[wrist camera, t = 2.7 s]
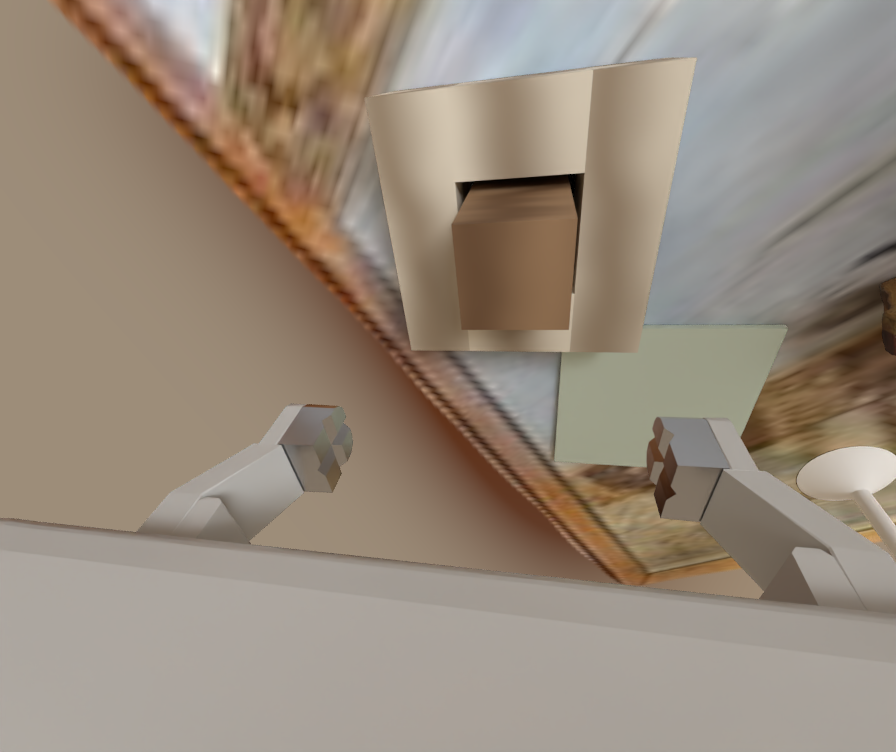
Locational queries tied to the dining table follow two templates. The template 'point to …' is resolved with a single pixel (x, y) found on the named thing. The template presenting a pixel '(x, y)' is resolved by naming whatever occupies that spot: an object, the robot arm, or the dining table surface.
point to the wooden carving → (889, 315)
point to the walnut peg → (516, 254)
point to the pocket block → (528, 155)
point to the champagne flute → (854, 483)
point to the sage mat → (659, 387)
